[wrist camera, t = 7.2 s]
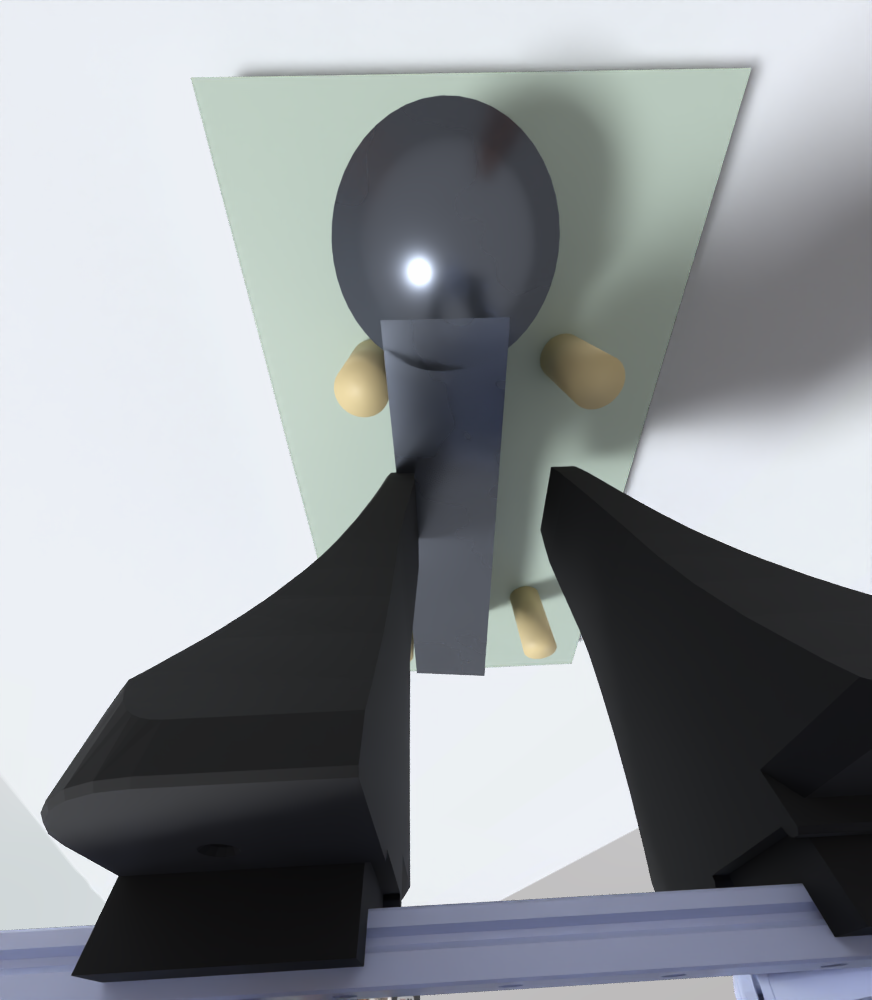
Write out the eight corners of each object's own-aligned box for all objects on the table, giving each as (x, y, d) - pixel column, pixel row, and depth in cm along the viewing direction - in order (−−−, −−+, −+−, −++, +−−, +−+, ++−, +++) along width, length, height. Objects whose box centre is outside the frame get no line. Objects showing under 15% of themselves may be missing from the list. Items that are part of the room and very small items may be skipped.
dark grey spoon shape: (499, 618, 16) (504, 676, 14) (405, 615, 16) (397, 672, 14) (546, 132, 8) (579, 86, 5) (352, 143, 8) (309, 103, 6)
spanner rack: (565, 645, 19) (590, 715, 16) (351, 655, 19) (339, 728, 16) (718, 86, 8) (881, -5, 5) (214, 95, 8) (97, 6, 5)
